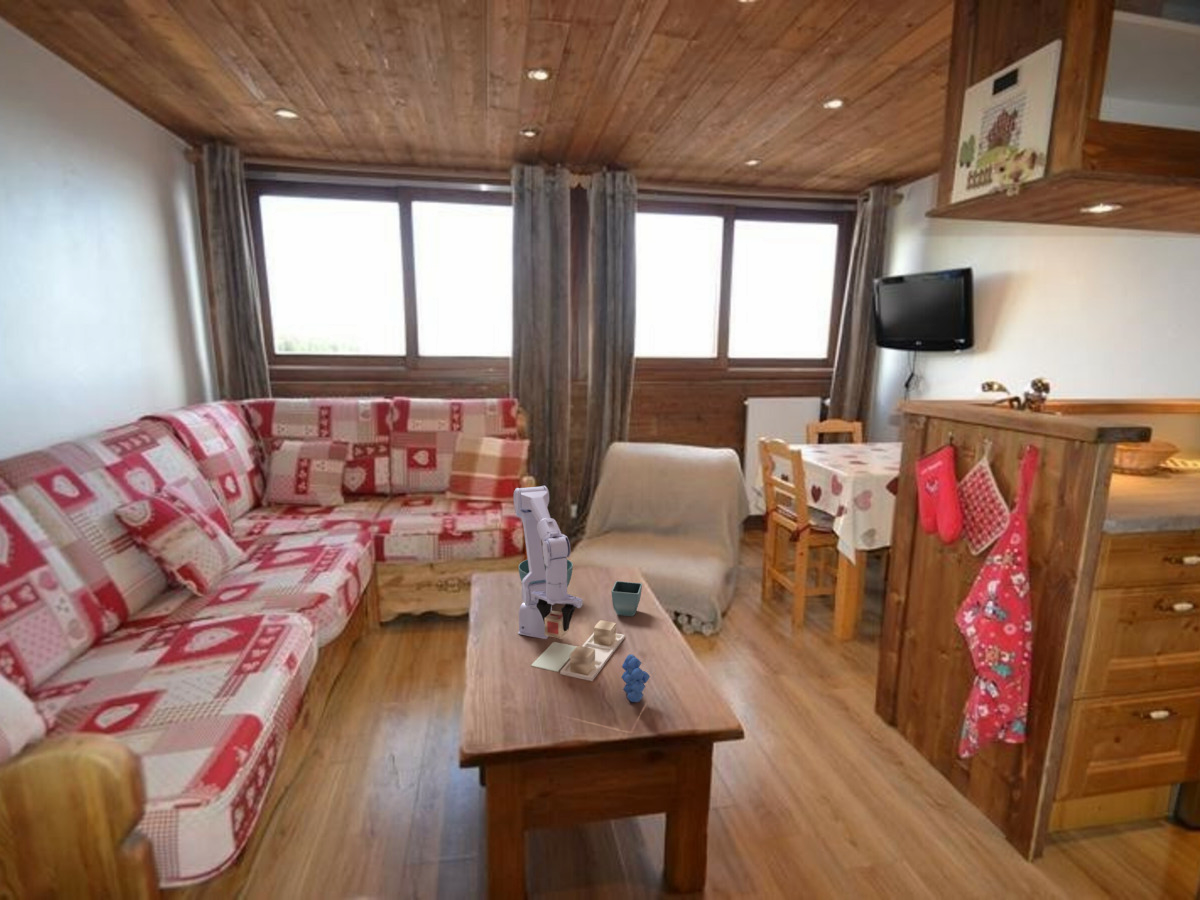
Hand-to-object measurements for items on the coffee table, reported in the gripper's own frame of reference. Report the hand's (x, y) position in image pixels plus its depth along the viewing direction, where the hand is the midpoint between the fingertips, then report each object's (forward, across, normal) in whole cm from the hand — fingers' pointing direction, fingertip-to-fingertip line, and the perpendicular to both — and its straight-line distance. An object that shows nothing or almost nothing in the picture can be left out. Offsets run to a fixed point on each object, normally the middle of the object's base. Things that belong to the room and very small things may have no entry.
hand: (556, 627), depth 163 cm
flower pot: (+9, +9, +34) cm, 36 cm away
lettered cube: (+2, 0, 0) cm, 2 cm away
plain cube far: (+8, +9, +13) cm, 18 cm away
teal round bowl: (+9, -20, +34) cm, 40 cm away
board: (+9, 0, 0) cm, 9 cm away
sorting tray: (+9, +9, +5) cm, 14 cm away
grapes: (+9, +27, -11) cm, 30 cm away
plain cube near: (+8, +9, -4) cm, 13 cm away
